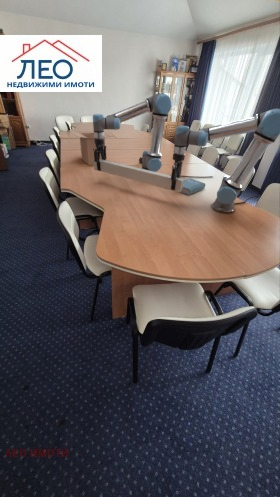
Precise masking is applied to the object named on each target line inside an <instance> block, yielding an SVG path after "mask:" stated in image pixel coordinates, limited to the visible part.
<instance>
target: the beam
mask: <svg viewBox="0 0 280 497" xmlns="http://www.w3.org/2000/svg"><path fill="white" fill-rule="evenodd" d="M99 162H100V169H101V171H100V172H101V173H106V174H108V175H113V176H116V177H120V178H124V179H128V180H131V181H136V182H139V183H143V184H147V185H151V186H155V187H159V188H162V189H166V190H170V191H173V192H177V193H181V191H182V190H183V185H184V180H185V178H184V177H181V178H179V177H176V185H175V190H171V184H172V180H171V176H170V175H171V174H165V173H162V172H158V171H156V172H153V171H149V170H145V169H142V168H140V167H135V166H131V165H127V164H123V163H119V162H116V161H110V160H107V159H106V160H102V159H100V161H99ZM93 163H94V165H93V170H94V171H97V172H99V171H98V170H97V162H95V161H94V159H93Z"/></svg>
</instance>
